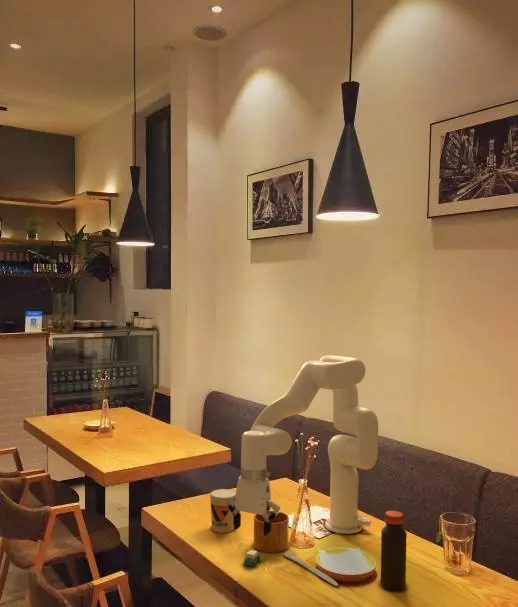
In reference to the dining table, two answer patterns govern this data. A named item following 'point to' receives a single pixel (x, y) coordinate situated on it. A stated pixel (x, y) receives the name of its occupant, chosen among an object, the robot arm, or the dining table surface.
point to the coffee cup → (221, 510)
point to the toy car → (252, 558)
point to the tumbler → (271, 533)
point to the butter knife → (310, 568)
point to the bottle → (393, 552)
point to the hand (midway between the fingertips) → (251, 531)
